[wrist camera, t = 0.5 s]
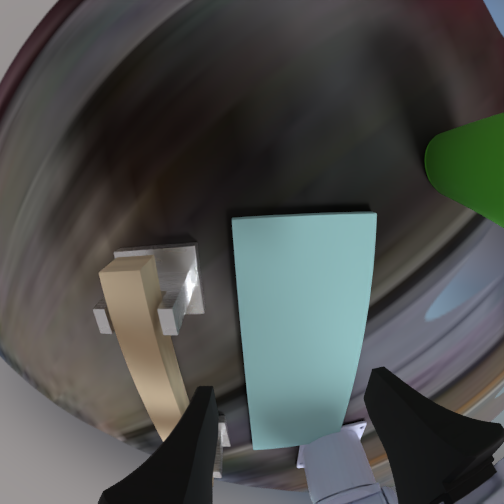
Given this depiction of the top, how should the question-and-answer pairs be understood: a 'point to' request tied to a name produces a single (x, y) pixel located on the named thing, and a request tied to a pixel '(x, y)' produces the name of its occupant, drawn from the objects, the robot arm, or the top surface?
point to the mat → (302, 319)
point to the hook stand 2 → (221, 445)
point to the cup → (471, 166)
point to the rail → (145, 338)
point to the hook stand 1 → (167, 285)
